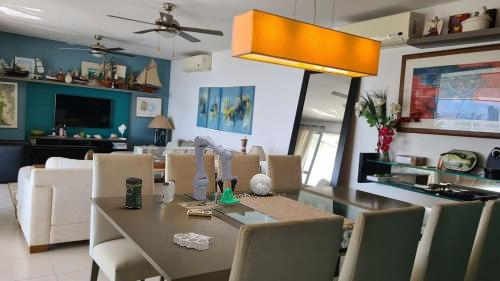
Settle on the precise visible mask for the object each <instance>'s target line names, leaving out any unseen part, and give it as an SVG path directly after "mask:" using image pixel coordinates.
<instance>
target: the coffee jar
mask: <svg viewBox="0 0 500 281" xmlns="http://www.w3.org/2000/svg"><path fill="white" fill-rule="evenodd" d="M125 187H126V188H125V189H126V190H125V192H126V193H125V203H124V207H125V206H128V207H132V208H138V207H141V208H143V201H142V200H143V198H142V195H143V194H142V187H143V179H142V178H139V177H127V178H126V180H125Z"/></svg>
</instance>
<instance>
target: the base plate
mask: <svg viewBox="0 0 500 281" xmlns="http://www.w3.org/2000/svg"><path fill="white" fill-rule="evenodd" d="M202 201H203V202H204V203H206V205H205V206H199V205H193V206H187V202H181V203H180V202H178V203H176V204H177V205H178V206H181V207H184V208H185V209H188V210H189V211H192V212H194V211H204V210H211V209H221V208H223V206H222V205H220V204H218V203H215V202H213V201H211V200H210V199H209V198H207V197H206V198H204V199H203V200H202Z"/></svg>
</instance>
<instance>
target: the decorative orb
mask: <svg viewBox="0 0 500 281" xmlns="http://www.w3.org/2000/svg"><path fill="white" fill-rule="evenodd" d="M249 187H250V189H251V191H252V192H253V193H254V194H256V195H259V196H265V195H267V194H268V193H270V191H271V188H272V179H271V177H270V176H268V175H266V174H264V173H257V174H255V175H254V176H252V178H251V179H250V181H249Z"/></svg>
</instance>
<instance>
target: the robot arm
mask: <svg viewBox="0 0 500 281" xmlns="http://www.w3.org/2000/svg"><path fill="white" fill-rule="evenodd" d="M193 141H194V142H193V143H194V153H195V154H194V155H195V166H196V167H195V168H196V174H195V175H194V176H193V181H192V184H193V185H192V186H194V188H193V192H192V199H195V200H196V201H203V199H204V198H207V189H208V187H209V185H210V180H209V176H208V174H206V173H205V172H206V171H205V158H204V150H205V149H206V148H207V147H210V148H211V149H213V150H214V151H213V152H214V153H215V154H216V155H218V156H219V159H220V162H221V169H222V170H221V172H222V177H216V178H215V182H216V183H217V185H218V187H219V190H220V191H219V192H220V193H222V194H223V193H224V184H225V183H224V182H227V181H230V185H231V186H230V187H231V188H230V189H231V190H232V192H233V193H234V192H235V188H236V185H237V183H238V180H239V177H238V176H232V160H233V158H234V157H233V156H234V153H233V152H232V151H231V150H227V148H224V147H223V146H222V144H217V143H216V142H215V141H214V140H213V139H212V137H210V136H209V135H204V136H203V135H201V136H200V135H197V136H195V138H194V139H193Z"/></svg>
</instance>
